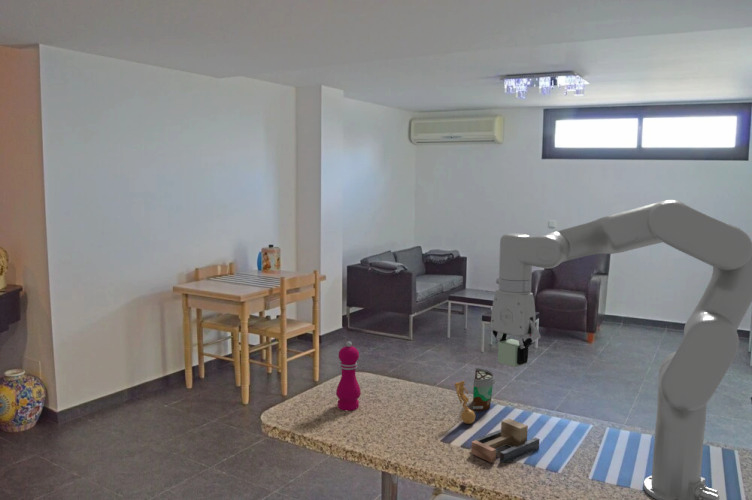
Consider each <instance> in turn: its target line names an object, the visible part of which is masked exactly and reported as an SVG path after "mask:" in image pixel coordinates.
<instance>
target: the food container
mask: <svg viewBox="0 0 752 500" xmlns="http://www.w3.org/2000/svg"><path fill="white" fill-rule="evenodd" d="M474 369H475V370H474V372H475V373H474V379H473V390H472V391H473V392H472V393H473V395H472V402H473V403H472V411H473V412H485V411H488V410H489V409H491V403H492V397H493V396H492V394H493V387H494V384H496V378H495V377H496V376H495V375H494V373H493V372H492V371H491V370H488V369H485V368H479V367H475V368H474Z"/></svg>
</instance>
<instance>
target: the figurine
mask: <svg viewBox="0 0 752 500" xmlns="http://www.w3.org/2000/svg"><path fill="white" fill-rule="evenodd" d="M464 385H466V383H465V381H464V380H462V381H460V382H459V381H457V382H455V384H454V388H455V390H456V395H457V397H458V400H459V403H460V404H462V407H463V410H462V412H461V413H460V418H461V421H462V422H463V423H464V424H466V425H467V424H468V425H470V424H473V423H474V422H475V419H476V414H475V411H473V409H470V408H469V407H468V406H467V404H468V402H469V400H470V399H469V397H467V395H468V394H469V392H468V390H467V389H466V388H465V386H464ZM464 391H465V392H464ZM466 394H467V395H466Z"/></svg>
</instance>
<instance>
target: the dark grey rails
mask: <svg viewBox="0 0 752 500" xmlns="http://www.w3.org/2000/svg"><path fill="white" fill-rule="evenodd" d="M499 437H501V429H499V430H495V431H494V432H493V431H492V432H490V433H488V434H485V435H482V436H480V437H477V438H475V439H472V441H475V440H476V441H478V442H481V443H486V442H488V441H491V440H493V439H496V438H499ZM539 449H540V438H538V437H533V438H531V439H527V441H526V442H523V443H521V444H519V445H516V446H514V447H509V448H506V449H504V450H502V451H500V452H499V463H501V464H507V463H509V462H511V461H513V460H516V459H517V458H520V457H522V456H525V455H528V454H530V453H532V452H534V451H536V450H539Z"/></svg>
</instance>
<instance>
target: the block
mask: <svg viewBox="0 0 752 500" xmlns="http://www.w3.org/2000/svg"><path fill="white" fill-rule="evenodd" d="M518 348H520V346H519V341H518V339H513V338H510V339H509V338H508V339H507V340H505V341H500V342H497V363H498V364H499V363H500V364H502V365H505V366H510V367H513V368H517V367H520V366H524V365H527V364H528V363H529V362H528V360H529V359H528V360H527V363H525V364H521V365H518V364H517V351H518Z"/></svg>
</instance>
